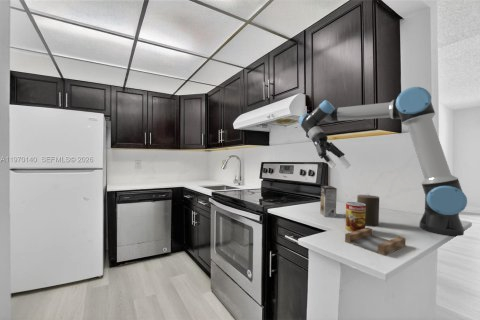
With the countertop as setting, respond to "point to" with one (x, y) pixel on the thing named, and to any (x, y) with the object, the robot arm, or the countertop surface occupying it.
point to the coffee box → (328, 201)
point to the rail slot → (374, 241)
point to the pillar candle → (370, 209)
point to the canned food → (355, 216)
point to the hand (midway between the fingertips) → (341, 166)
